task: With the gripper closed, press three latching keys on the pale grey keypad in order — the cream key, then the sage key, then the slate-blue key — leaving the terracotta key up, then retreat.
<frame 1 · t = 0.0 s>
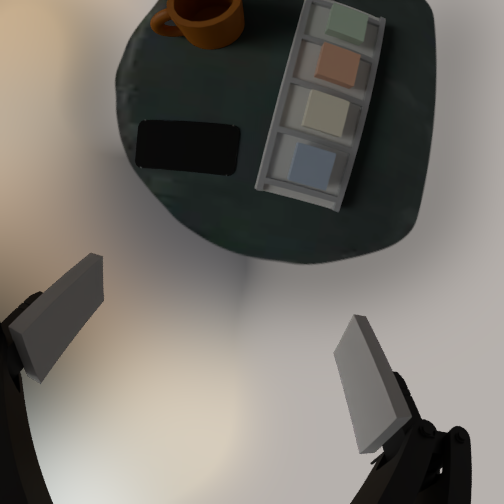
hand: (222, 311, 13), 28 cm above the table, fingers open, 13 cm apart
keypad: (323, 94, 33), on the table
key cream: (325, 113, 30), point 5 cm above the table, slide at 0.0 cm
mug: (203, 26, 30), on the table
smartphone: (185, 146, 37), on the table
key blue: (311, 165, 33), point 5 cm above the table, slide at 0.0 cm
key sage: (346, 23, 25), point 5 cm above the table, slide at 0.0 cm
key terracotta: (337, 65, 28), point 5 cm above the table, slide at 0.0 cm
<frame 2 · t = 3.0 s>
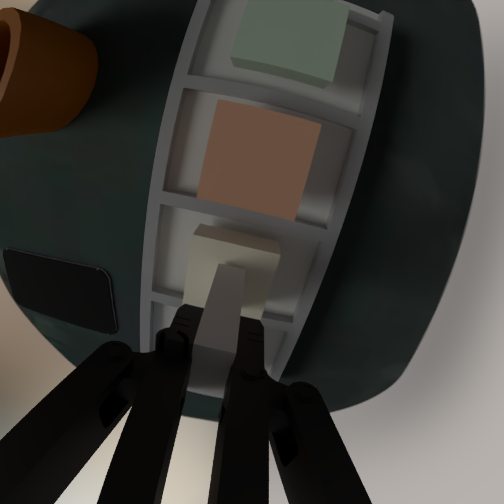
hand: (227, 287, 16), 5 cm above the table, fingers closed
keypad: (246, 204, 19), on the table
key cream: (229, 275, 17), point 4 cm above the table, slide at 0.9 cm, touching gripper
mug: (45, 86, 15), on the table
smartphone: (55, 286, 23), on the table
key blue: (209, 364, 19), point 4 cm above the table, slide at 0.0 cm
key sage: (291, 33, 10), point 5 cm above the table, slide at 0.0 cm
key terracotta: (257, 158, 13), point 4 cm above the table, slide at 0.0 cm
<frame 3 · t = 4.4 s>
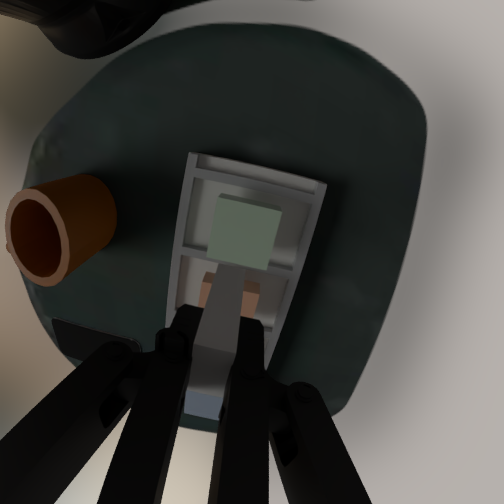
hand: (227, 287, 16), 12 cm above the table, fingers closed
keypad: (225, 310, 30), on the table
mug: (75, 213, 27), on the table
smartphone: (96, 345, 34), on the table
key blue: (206, 400, 29), point 5 cm above the table, slide at 0.0 cm
key sage: (243, 231, 22), point 5 cm above the table, slide at 0.0 cm
key terracotta: (226, 306, 24), point 5 cm above the table, slide at 0.0 cm
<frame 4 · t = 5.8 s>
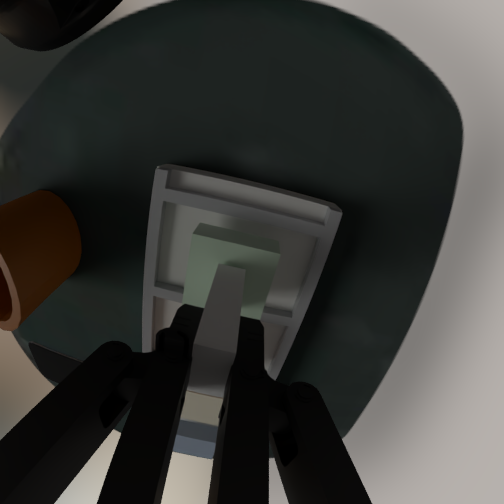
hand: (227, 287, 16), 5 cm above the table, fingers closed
keypad: (211, 350, 25), on the table
key cream: (201, 400, 23), point 4 cm above the table, slide at 1.0 cm
mug: (38, 235, 21), on the table
smartphone: (76, 371, 29), on the table
key blue: (193, 440, 24), point 5 cm above the table, slide at 0.0 cm
key sage: (229, 274, 17), point 4 cm above the table, slide at 0.3 cm, touching gripper
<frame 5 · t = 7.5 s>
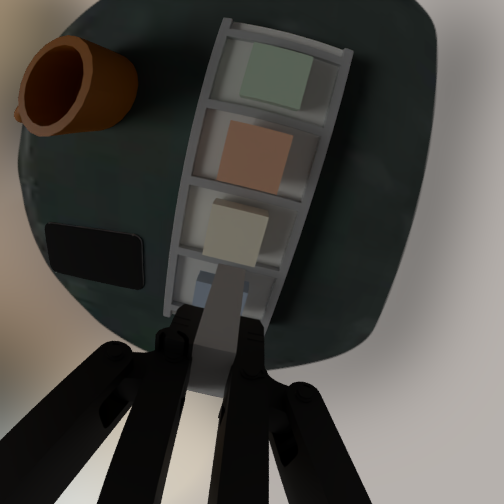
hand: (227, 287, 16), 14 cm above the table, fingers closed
keypad: (246, 186, 27), on the table
key cream: (235, 232, 25), point 4 cm above the table, slide at 1.0 cm
mug: (92, 94, 23), on the table
smartphone: (92, 252, 31), on the table
key blue: (218, 302, 27), point 5 cm above the table, slide at 0.0 cm
key sage: (276, 76, 19), point 4 cm above the table, slide at 1.0 cm
key terracotta: (254, 156, 21), point 5 cm above the table, slide at 0.0 cm
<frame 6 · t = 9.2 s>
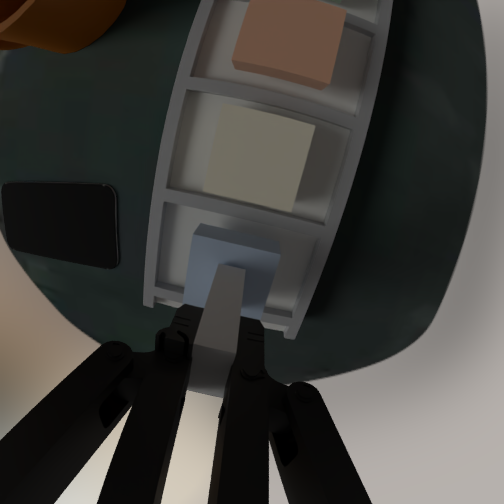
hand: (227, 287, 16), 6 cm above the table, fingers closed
keypad: (271, 104, 16), on the table
key cream: (258, 156, 15), point 4 cm above the table, slide at 1.0 cm
mug: (71, 16, 13), on the table
smartphone: (53, 219, 21), on the table
key blue: (229, 274, 17), point 4 cm above the table, slide at 0.3 cm, touching gripper
key terracotta: (289, 36, 11), point 5 cm above the table, slide at 0.0 cm
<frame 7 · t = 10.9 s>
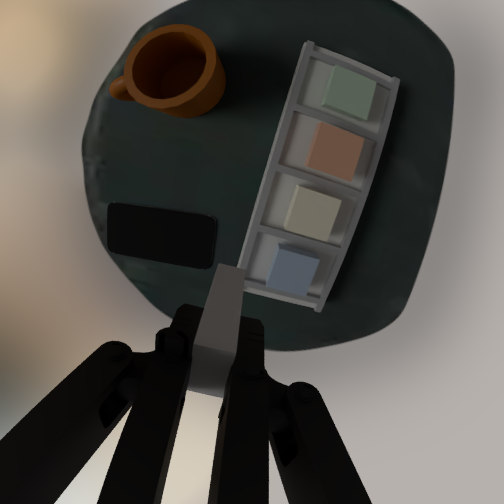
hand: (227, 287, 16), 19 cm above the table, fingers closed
keypad: (315, 178, 32), on the table
key cream: (312, 212, 30), point 4 cm above the table, slide at 1.0 cm
mug: (177, 84, 28), on the table
smartphone: (158, 233, 35), on the table
key blue: (291, 269, 32), point 4 cm above the table, slide at 1.0 cm
key sage: (348, 93, 25), point 4 cm above the table, slide at 1.0 cm
key terracotta: (334, 151, 26), point 5 cm above the table, slide at 0.0 cm
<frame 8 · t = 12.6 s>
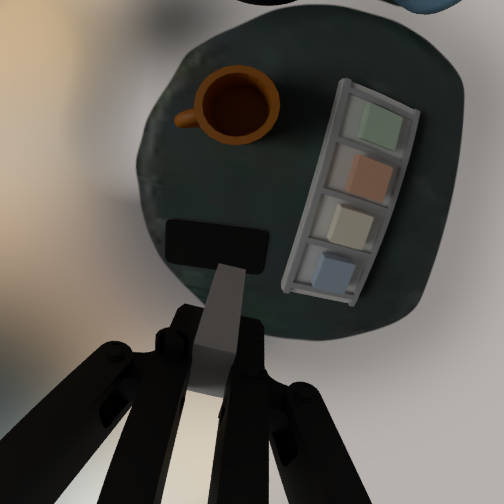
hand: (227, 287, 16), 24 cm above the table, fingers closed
keypad: (350, 196, 37), on the table
key cream: (350, 227, 35), point 4 cm above the table, slide at 1.0 cm
mug: (230, 112, 34), on the table
smartphone: (215, 245, 41), on the table
key blue: (333, 273, 38), point 4 cm above the table, slide at 1.0 cm
key sage: (380, 127, 30), point 4 cm above the table, slide at 1.0 cm
key terracotta: (369, 178, 32), point 5 cm above the table, slide at 0.0 cm
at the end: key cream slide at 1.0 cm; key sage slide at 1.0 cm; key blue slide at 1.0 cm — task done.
